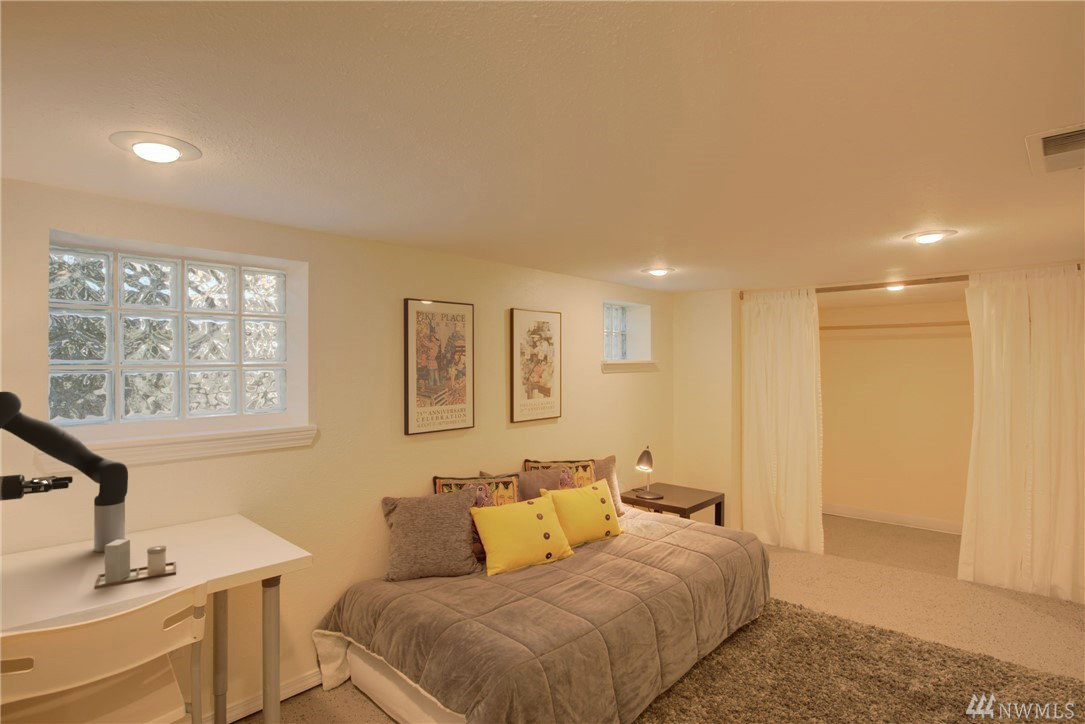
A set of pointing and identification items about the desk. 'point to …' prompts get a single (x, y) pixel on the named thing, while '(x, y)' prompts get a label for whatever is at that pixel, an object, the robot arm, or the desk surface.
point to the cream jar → (156, 560)
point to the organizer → (136, 575)
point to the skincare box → (117, 560)
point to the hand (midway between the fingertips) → (70, 482)
